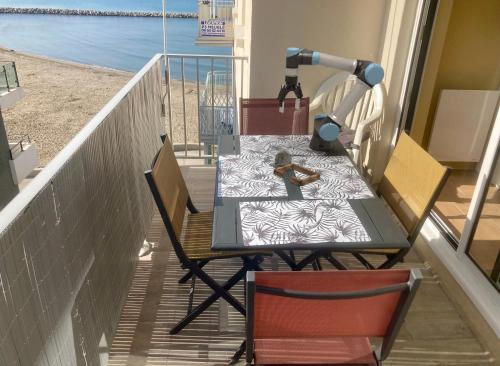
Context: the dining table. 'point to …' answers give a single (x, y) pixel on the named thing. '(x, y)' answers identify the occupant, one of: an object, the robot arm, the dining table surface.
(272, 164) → the slate coaster
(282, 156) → the stone
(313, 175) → the frame
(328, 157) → the dining table surface
